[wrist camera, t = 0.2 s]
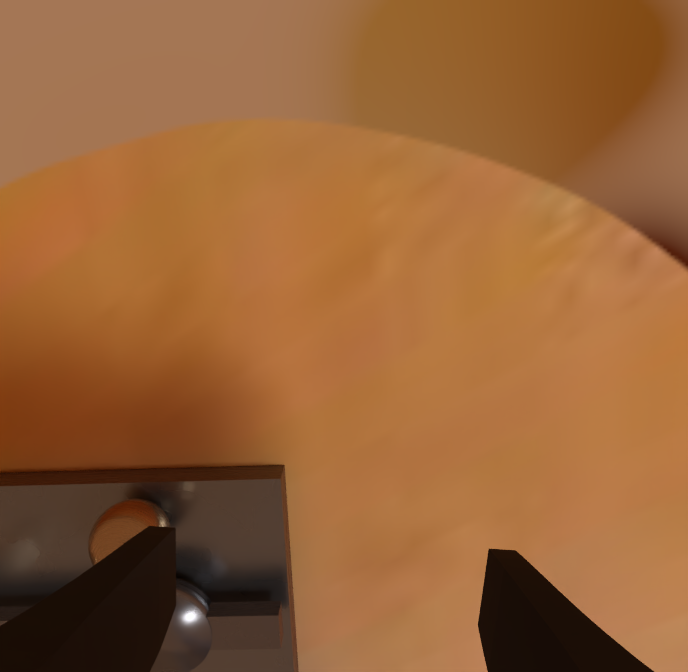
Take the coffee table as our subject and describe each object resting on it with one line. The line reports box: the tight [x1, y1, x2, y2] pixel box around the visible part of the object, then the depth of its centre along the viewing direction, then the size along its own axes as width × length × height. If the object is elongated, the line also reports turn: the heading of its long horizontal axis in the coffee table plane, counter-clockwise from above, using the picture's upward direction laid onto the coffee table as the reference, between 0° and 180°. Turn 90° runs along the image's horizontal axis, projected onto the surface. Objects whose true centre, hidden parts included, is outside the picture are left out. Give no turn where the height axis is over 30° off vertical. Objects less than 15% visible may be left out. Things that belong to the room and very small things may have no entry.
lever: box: [0, 579, 284, 672], centre depth 19 cm, size 16×4×4 cm, turn 92°
